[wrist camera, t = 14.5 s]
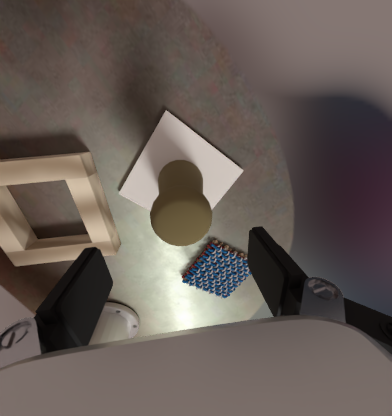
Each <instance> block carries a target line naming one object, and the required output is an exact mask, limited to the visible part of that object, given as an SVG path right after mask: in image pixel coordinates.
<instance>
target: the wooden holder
mask: <svg viewBox="0 0 392 416" xmlns="http://www.w3.org/2000/svg"><path fill="white" fill-rule="evenodd" d="M56 180H66V182H67V185H68V187H69V189H70V192H71V194H72V196H73V199H74V201H75V203H76V206H77V208H78V210H79V213H80V215H81V217H82V220H83V222H84V224H85V227H86V229H87V231H88V234H82V235H73V236H64V237H55V238H46V239H38V238H37V237H36V235H35V233H34V232H33V230H32V228H31V227H30V225H29V223H28V222H27V220H26V218H25V217H24V215H23V213H22V212H21V210H20V208H19V207H18V205H17V203H16V202H15V200H14V198H13V197H12V195H11V193H10V192H9V190H8V188H7V187H6V185H14V184H24V183H35V182H45V181H56ZM120 245H121V242H120V239H119V236H118V233H117V230H116V227H115V224H114V221H113V218H112V215H111V212H110V209H109V206H108V203H107V200H106V197H105V194H104V191H103V188H102V185H101V182H100V179H99V176H98V173H97V170H96V168H95V165H94V162H93V159H92V156H91V153H90V152H81V153H70V154H59V155H48V156H36V157H25V158H14V159H3V160H0V246H1V248H2V249H3V250H4V252H5V253H6V255H7V256H8V257H9V259H10V260H11V261H12V263H13V264H14V265H15V266H23V265H32V264H40V263H49V262H58V261H66V260H75V259H77V257H78V256H79V255H80V254H81V252H82V251H83V250H84V249H85V248H89V247H97V248H98V249H100V250H101V252H102V255H103V256H109V255H116V254H117V252H118V249H119V247H120Z"/></svg>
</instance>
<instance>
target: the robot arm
mask: <svg viewBox="0 0 392 416" xmlns="http://www.w3.org/2000/svg"><path fill="white" fill-rule="evenodd" d="M247 264H248V268H249V270H250V272H251V274H252V276H253V278H254V280H255V281H256V283H257V285H258V287H259V289H260V291H261V293H262V295H263V297H264V299H265V301H266V303H267V304H268V307H269V309H270V310H271V312H272V314H273V316H274V317H271V318H262V319H255V320H247V321H241V322H234V323H227V324H220V325H214V326H207V327H200V328H194V329H187V330H181V331H174V332H168V333H162V334H155V335H149V336H142V337H136V338H132V337H134V336H135V335H136V333H137V332H138V329H139V323H140V322H139V318H138V316H137V315H136V313H135V312H134V311H132V310H131V309H130V308H128V307H126V306H124V305H121V304H117V303H112V302H106V301H107V298H108V296H109V293H110V291H111V289H112V286H113V280H112V278H111V275H110V273H109V270H108V268H107V265H106V262H105V260H104V257H103V255H102V252H101V250H100V249H98V248H97V247H89V248H85V249H84V250H83V251H82V252H81V254H80V255H79V256H78V257H77V259H76V260H75V261H74V263H73V264H72V265H71V266H70V268H69V269H68V270H67V272H66V273H65V274H64V275H63V277H62V278H61V279H60V281H59V282H58V283H57V284H56V286H55V287H54V288H53V290H52V291H51V292H50V293H49V295H48V296H47V297H46V299H45V300H44V301H43V302H42V304H41V305H40V306H39V308H38V309H37V310H36V311H35V312H36V313H37V314H36V316H35V317H34V318H24V319H21V320H18V321H16V322H14V323H12V324H11V325H9V326H8V327H6V328H5V329H4V330H3V331H1V332H0V416H392V317H390V316H388V315H385V314H383V313H380V312H378V311H376V310H373V309H371V308H368V307H366V306H363V305H361V304H358V303H356V302H353V301H351V300H349V299H346V298H344V297H343V294H342V292H341V290H340V289H339V288H338V287H337V286H336V285H335V284H333V283H332V282H330V281H328V280H326V279H324V278H320V277H310V278H309V277H308V276H307V275H306V274H305V273H304V272H303V271H302V270H301V268H300V267H299V266H298V265H297V264H296V263H295V262H294V261H293V260H292V258H291V257H290V256H289V255H288V254H287V253H286V251H285V250H284V249H283V248H282V247H281V246H279V245H278V244H277V243H276V242H275V241H274V240H273V238H272V237H271V236H270V235H269V234H268V233H267V232H266V230H265V229H264V228H263V227H253V228H252V230H250V231H249V243H248V259H247Z"/></svg>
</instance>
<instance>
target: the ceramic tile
mask: <svg viewBox="0 0 392 416" xmlns="http://www.w3.org/2000/svg"><path fill="white" fill-rule="evenodd" d="M175 160H186V161H189V162H192V163H193V164H194V165H195V166H197V167H198V169H199V170H200V172H201V174H202V177H203V194H204V196H205V197H206V199H207V200H208V201H209V203H210V206H211V210H212V209H213V208H214V206H215V205H216V204H217V203H218V202H219V200H220V199H221V198H222V197H223V195H224V194H225V193H226V192H227V190H228V189H229V188H230V187H231V186H232V184H233V183H234V182H235V181H236V179H237V178H238V177H239V176H240V175H241V173H242V172H243V171H244V170H242V169H241V168H240V167H238V166H237V165H236V164H235V163H233V162H232V161H231V160H229V159H228V158H227V157H226V156H224V155H223V154H222V153H221V152H219V151H218V150H217V149H215V148H214V147H213V146H212V145H210V144H209V143H208V142H206V141H205V140H204V139H203V138H201V137H200V136H199V135H197V134H196V133H195V132H194V131H192V130H191V129H190V128H189V127H187V126H186V125H185V124H183V123H182V122H181V121H180V120H178V119H177V118H176V117H174V116H173V115H172V114H171V113H169V112H168V111H167V110H166V111H165V113H164V114H163V116H162V118H161V120H160V122H159V123H158V125H157V127H156V129H155V130H154V132H153V134H152V136H151V137H150V139H149V141H148V143H147V144H146V146H145V148H144V150H143V152H142V153H141V155H140V157H139V159H138V160H137V162H136V164H135V166H134V167H133V169H132V171H131V173H130V175H129V176H128V178H127V180H126V182H125V183H124V185H123V187H122V189H121V190H120V192H119V194H120V195H122V196H124V197H125V198H127V199H129V200H131V201H133V202H135V203H136V204H138V205H140V206H142V207H144V208H146V209H147V210H149V211H151V208H152V205H153V202H154V201H155V199H156V198H157V197H158V195H159V190H158V177H159V173H160V171H161V170H162V168H163V167H164V166H165V165H166V164H168V163H169V162H172V161H175Z"/></svg>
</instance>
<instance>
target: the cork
mask: <svg viewBox="0 0 392 416" xmlns="http://www.w3.org/2000/svg"><path fill="white" fill-rule="evenodd" d="M158 190H159V195H158V197H157V198H156V199H155V201H154V202H153V205H152V208H151V212H150V218H151V225H152V228H153V230H154V232H155V233H156V234H157V235H158V236H159V237H160V238H161V239H162V240H163V241H165V242H167V243H169V244H171V245H175V246H187V245H191V244H194V243H196V242H197V241H199V240H201V239H202V238H203V237H204V235H205V234H206V233H207V232H208V230H209V228H210V226H211V222H212V210H211V206H210V203H209V201H208V200H207V199H206V197H205V196H204V194H203V177H202V174H201V172H200V170H199V169H198V167H197V166H195V165H194V164H193V163H192V162H189V161H186V160H175V161H172V162H169V163H168V164H166V165H165V166H164V167H163V168H162V170H161V171H160V173H159V177H158Z"/></svg>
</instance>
